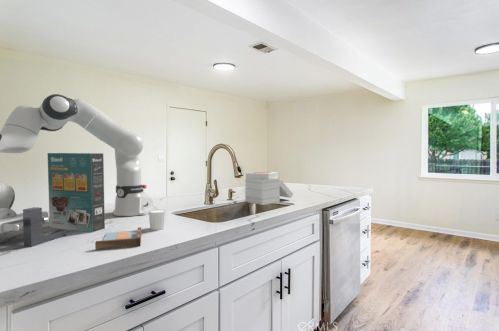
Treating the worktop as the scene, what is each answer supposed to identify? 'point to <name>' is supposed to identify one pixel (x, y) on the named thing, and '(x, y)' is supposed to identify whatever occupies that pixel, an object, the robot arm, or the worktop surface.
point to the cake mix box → (76, 191)
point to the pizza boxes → (265, 188)
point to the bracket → (36, 228)
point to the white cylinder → (157, 219)
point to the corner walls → (119, 242)
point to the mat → (120, 236)
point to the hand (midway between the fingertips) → (33, 223)
